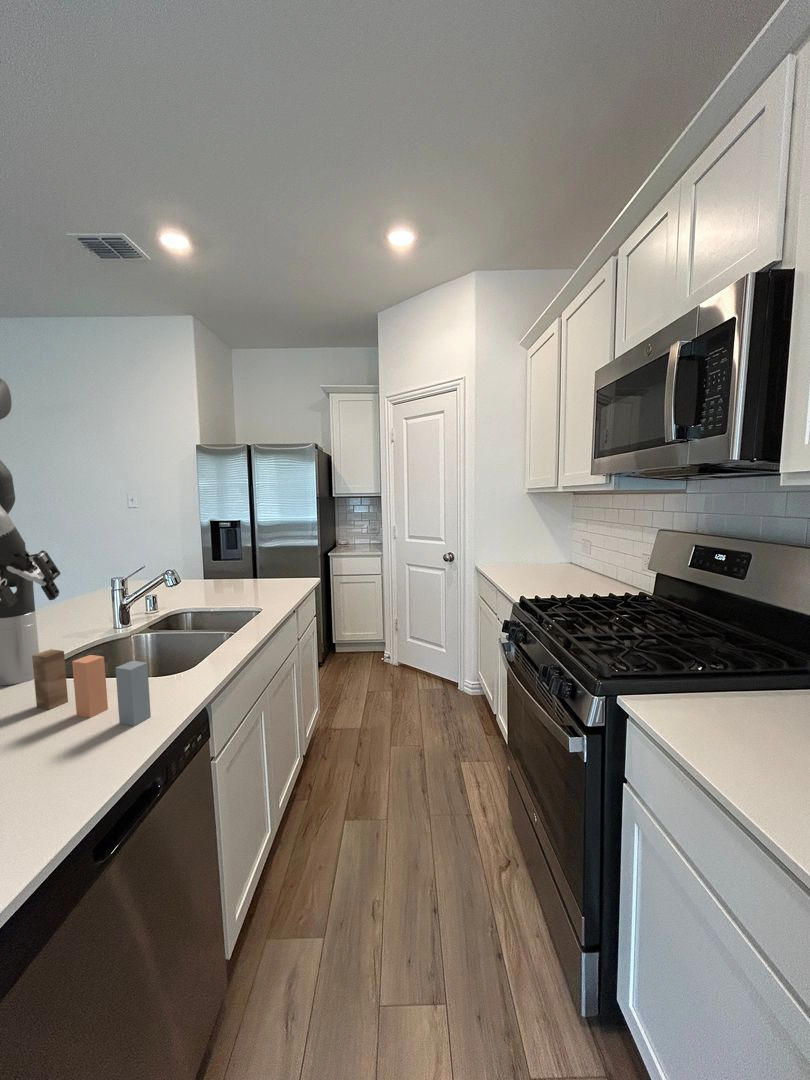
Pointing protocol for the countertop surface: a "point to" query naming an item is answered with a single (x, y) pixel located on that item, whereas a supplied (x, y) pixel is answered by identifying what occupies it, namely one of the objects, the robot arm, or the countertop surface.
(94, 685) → the terracotta pillar
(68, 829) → the countertop surface
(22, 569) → the robot arm
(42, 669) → the walnut pillar
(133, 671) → the slate pillar
